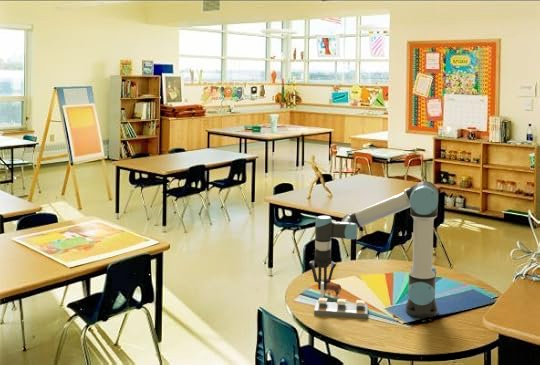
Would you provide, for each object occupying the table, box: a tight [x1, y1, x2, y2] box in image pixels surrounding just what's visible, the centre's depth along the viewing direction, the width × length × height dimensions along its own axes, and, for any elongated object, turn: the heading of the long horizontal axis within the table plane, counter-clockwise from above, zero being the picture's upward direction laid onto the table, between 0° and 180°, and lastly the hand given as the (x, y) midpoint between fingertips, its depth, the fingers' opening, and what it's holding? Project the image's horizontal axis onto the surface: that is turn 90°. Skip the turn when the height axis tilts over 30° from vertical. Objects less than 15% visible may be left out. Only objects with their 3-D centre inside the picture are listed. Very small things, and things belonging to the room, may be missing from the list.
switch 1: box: [317, 297, 329, 304], centre depth 286 cm, size 4×7×1 cm, turn 170°
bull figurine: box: [321, 277, 342, 299], centre depth 304 cm, size 4×13×8 cm, turn 42°
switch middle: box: [336, 298, 347, 305], centre depth 284 cm, size 4×7×1 cm, turn 170°
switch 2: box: [355, 299, 366, 306], centre depth 283 cm, size 4×7×1 cm, turn 170°
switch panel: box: [313, 300, 369, 319], centre depth 284 cm, size 25×12×4 cm, turn 80°
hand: (322, 295), depth 282 cm, fingers closed
